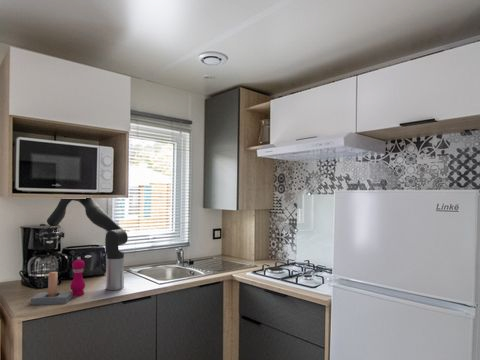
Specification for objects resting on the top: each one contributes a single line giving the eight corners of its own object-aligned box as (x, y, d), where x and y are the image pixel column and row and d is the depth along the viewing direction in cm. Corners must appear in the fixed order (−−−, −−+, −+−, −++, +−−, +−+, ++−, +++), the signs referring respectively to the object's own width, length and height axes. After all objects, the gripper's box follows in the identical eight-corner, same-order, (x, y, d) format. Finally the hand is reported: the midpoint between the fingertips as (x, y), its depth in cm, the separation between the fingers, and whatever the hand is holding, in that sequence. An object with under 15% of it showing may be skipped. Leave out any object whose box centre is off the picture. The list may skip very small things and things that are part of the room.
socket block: (72, 297, 176) (72, 291, 176) (66, 303, 166) (66, 297, 167) (39, 298, 174) (39, 292, 174) (30, 304, 164) (30, 298, 164)
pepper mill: (71, 297, 176) (72, 258, 177) (68, 293, 182) (70, 256, 183) (86, 295, 181) (87, 257, 181) (83, 291, 186) (84, 255, 187)
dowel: (57, 299, 172) (58, 271, 173) (55, 301, 168) (56, 273, 169) (49, 299, 172) (50, 271, 172) (46, 302, 168) (47, 273, 168)
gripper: (34, 227, 195) (36, 230, 182) (62, 226, 204) (66, 229, 190) (33, 241, 195) (35, 244, 182) (61, 239, 203) (65, 242, 190)
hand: (51, 236), depth 186 cm, fingers open, 8 cm apart
